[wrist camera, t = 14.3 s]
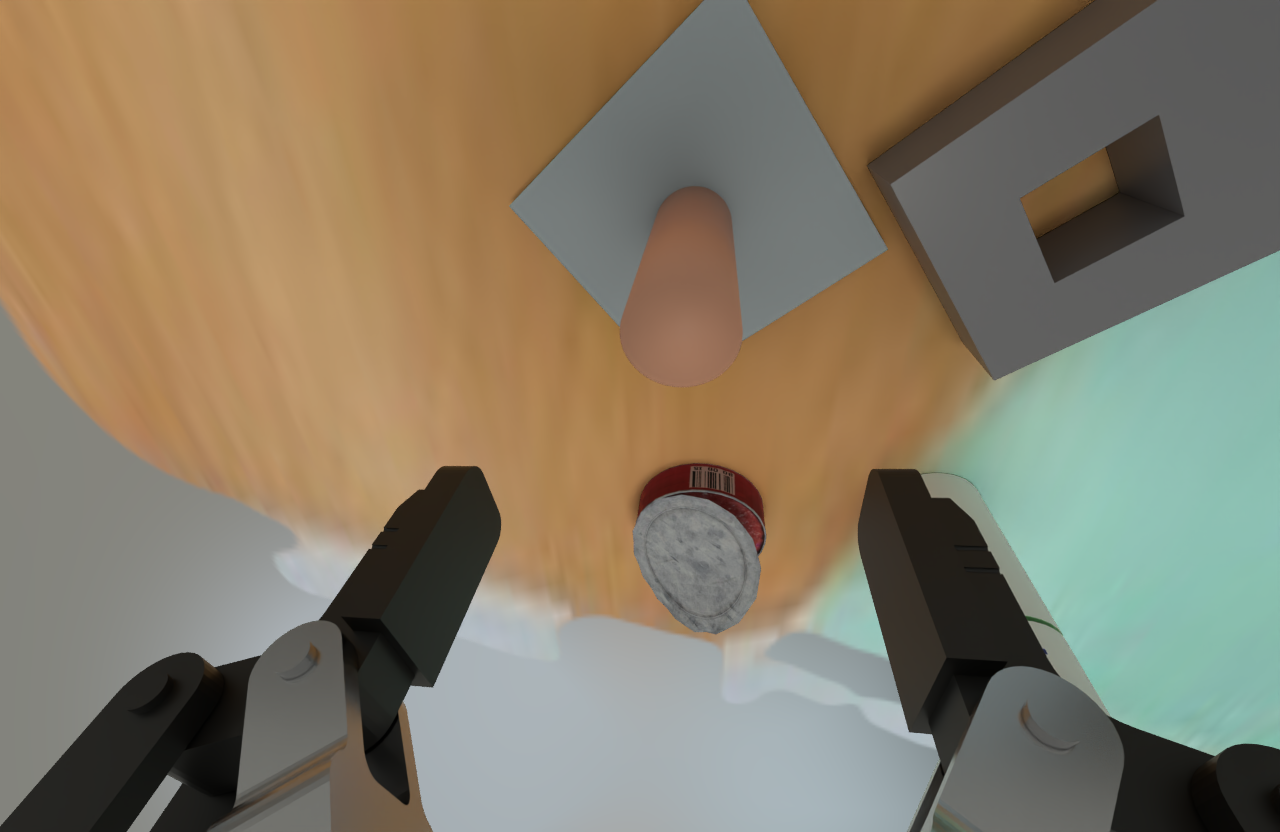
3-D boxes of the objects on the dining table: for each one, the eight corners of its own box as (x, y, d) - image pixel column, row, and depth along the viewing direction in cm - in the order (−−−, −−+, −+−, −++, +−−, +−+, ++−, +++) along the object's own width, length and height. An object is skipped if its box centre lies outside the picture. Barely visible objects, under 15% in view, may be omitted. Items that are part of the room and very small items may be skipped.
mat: (730, -26, 20) (730, -29, 19) (883, 244, 26) (887, 249, 25) (513, 202, 27) (509, 205, 26) (673, 378, 32) (672, 384, 32)
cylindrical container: (881, 473, 35) (1099, 1035, 15) (992, 472, 34) (1389, 1082, 14) (867, 538, 39) (1023, 1045, 19) (965, 539, 38) (1240, 1082, 18)
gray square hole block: (1183, -64, 18) (1283, -88, 15) (1237, 205, 23) (1321, 231, 20) (866, 165, 24) (890, 184, 20) (962, 343, 28) (994, 380, 25)
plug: (701, 167, 24) (692, 249, 14) (747, 233, 25) (767, 347, 16) (639, 221, 26) (594, 325, 16) (685, 279, 27) (670, 405, 18)
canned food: (672, 502, 46) (609, 586, 40) (666, 425, 39) (589, 514, 34) (788, 557, 41) (734, 664, 35) (804, 480, 34) (740, 596, 28)
